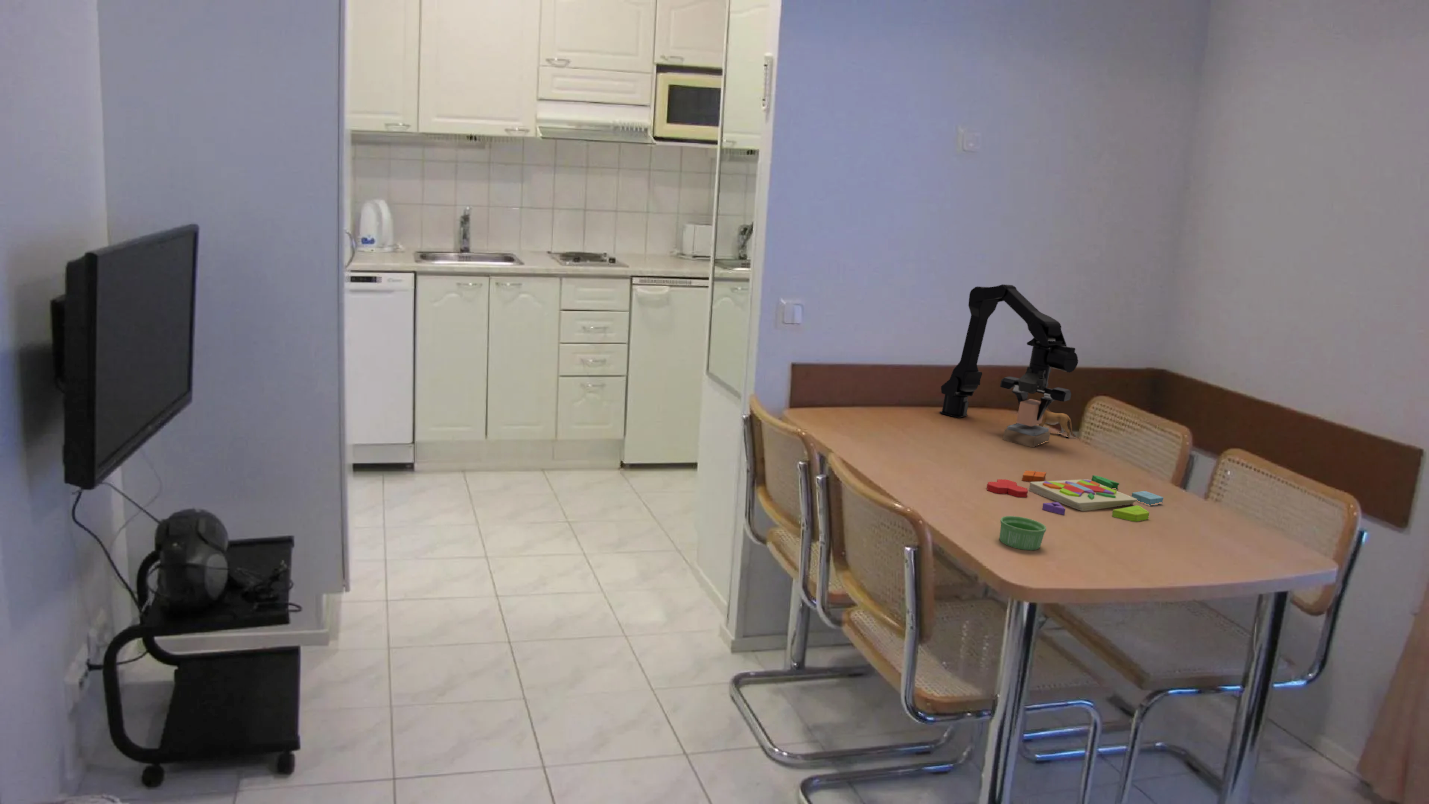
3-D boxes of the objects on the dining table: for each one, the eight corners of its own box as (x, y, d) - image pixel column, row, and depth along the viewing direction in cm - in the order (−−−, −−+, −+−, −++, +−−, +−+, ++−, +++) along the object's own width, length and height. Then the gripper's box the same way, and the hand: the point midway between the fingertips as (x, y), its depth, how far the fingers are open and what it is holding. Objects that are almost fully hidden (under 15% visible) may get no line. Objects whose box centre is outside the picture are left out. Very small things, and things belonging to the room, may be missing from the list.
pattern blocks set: (1056, 471, 297) (1058, 459, 297) (1182, 510, 274) (1185, 498, 274) (974, 488, 270) (976, 476, 270) (1106, 534, 248) (1109, 520, 247)
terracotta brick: (1016, 422, 323) (1020, 401, 322) (1026, 419, 330) (1030, 398, 328) (1031, 426, 321) (1035, 405, 320) (1041, 422, 327) (1045, 402, 326)
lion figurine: (1023, 431, 340) (1029, 401, 338) (1024, 427, 345) (1029, 398, 343) (1075, 440, 336) (1081, 410, 334) (1075, 436, 341) (1081, 407, 339)
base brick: (1002, 439, 324) (1005, 425, 323) (1018, 434, 334) (1021, 420, 333) (1033, 447, 319) (1035, 433, 318) (1048, 441, 329) (1051, 428, 328)
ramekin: (1050, 552, 228) (1054, 531, 227) (1009, 550, 226) (1013, 529, 225) (1029, 537, 237) (1033, 516, 236) (989, 535, 235) (993, 514, 234)
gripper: (997, 359, 320) (987, 414, 324) (1062, 373, 310) (1051, 429, 313) (1012, 356, 329) (1002, 409, 333) (1076, 370, 319) (1065, 425, 322)
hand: (1029, 418), depth 325 cm, fingers closed on terracotta brick, 4 cm apart
